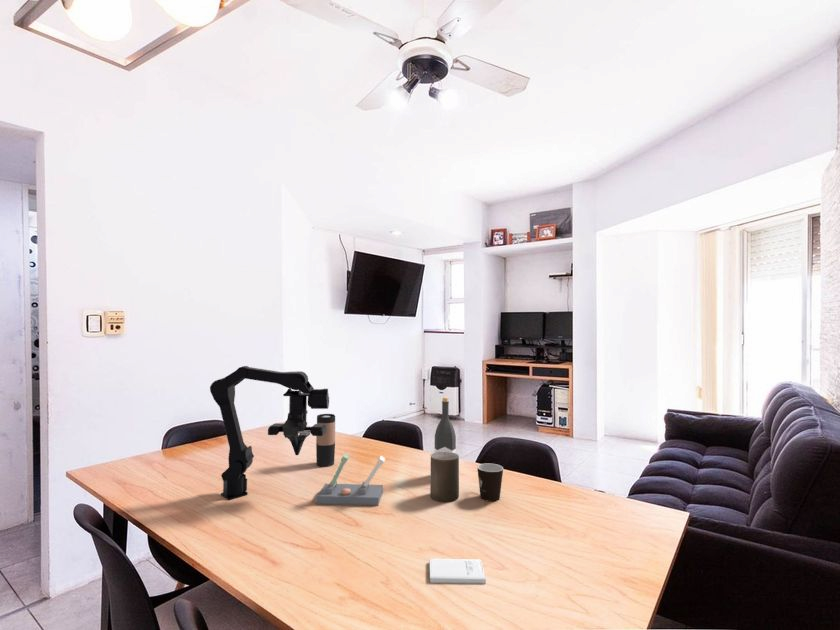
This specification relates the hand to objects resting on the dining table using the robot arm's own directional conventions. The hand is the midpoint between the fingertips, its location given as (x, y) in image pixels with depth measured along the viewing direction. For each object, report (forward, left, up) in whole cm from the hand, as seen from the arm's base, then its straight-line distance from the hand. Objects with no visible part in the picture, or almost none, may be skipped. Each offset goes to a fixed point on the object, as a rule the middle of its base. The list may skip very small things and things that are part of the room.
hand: (297, 454), depth 144 cm
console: (+10, -16, -13) cm, 23 cm away
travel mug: (+25, +19, -13) cm, 34 cm away
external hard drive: (0, -68, -14) cm, 70 cm away
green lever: (+6, -11, -9) cm, 16 cm away
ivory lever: (+13, -20, -9) cm, 25 cm away
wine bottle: (+48, -26, -13) cm, 56 cm away
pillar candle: (+33, -38, -13) cm, 52 cm away
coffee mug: (+44, -49, -13) cm, 67 cm away
